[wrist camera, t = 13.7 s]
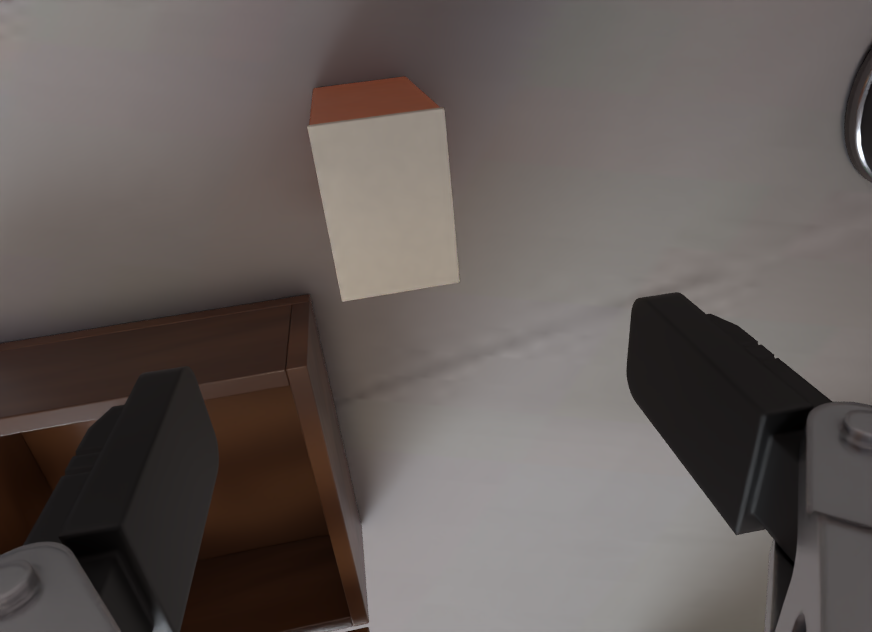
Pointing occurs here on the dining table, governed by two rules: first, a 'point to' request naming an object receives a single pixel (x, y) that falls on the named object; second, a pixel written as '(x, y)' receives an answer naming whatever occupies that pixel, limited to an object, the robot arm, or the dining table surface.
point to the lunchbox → (238, 455)
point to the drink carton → (384, 186)
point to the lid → (361, 630)
